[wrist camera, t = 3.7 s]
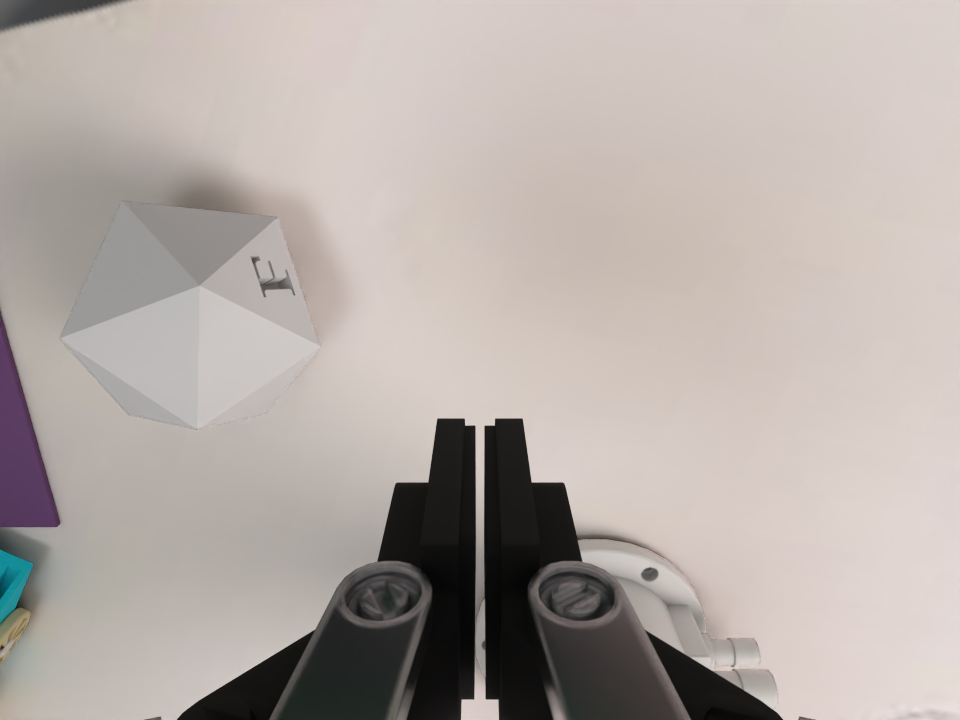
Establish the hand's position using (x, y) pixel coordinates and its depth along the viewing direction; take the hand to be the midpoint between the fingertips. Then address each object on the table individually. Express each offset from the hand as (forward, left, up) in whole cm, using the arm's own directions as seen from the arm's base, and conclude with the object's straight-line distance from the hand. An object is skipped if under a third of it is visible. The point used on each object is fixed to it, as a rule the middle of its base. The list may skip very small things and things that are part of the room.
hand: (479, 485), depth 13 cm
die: (+11, +1, -17) cm, 20 cm away
